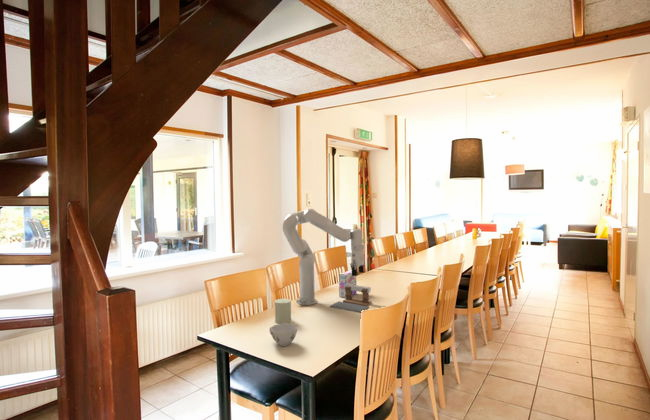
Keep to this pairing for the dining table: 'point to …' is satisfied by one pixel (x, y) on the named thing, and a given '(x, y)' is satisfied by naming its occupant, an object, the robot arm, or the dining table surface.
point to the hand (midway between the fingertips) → (357, 274)
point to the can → (282, 311)
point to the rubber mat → (349, 306)
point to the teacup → (283, 333)
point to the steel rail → (358, 288)
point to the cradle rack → (362, 302)
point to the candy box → (346, 282)
